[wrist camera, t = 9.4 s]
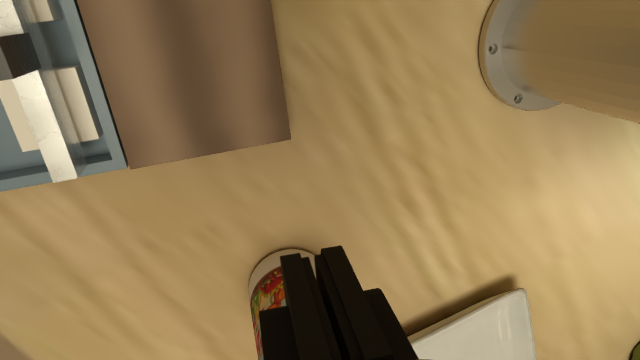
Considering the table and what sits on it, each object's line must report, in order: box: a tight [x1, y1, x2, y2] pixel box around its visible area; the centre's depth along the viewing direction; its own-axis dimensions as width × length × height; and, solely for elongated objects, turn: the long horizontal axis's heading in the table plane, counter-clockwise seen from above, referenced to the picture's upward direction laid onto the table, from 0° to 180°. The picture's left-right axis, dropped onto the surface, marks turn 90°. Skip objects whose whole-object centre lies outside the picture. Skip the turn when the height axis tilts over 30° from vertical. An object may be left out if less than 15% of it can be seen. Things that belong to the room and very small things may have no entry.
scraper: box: [0, 0, 87, 183], centre depth 24 cm, size 2×16×7 cm, turn 6°
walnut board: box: [77, 0, 291, 169], centre depth 30 cm, size 12×18×3 cm, turn 6°
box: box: [0, 0, 129, 192], centre depth 28 cm, size 11×18×2 cm, turn 6°
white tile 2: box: [0, 64, 103, 152], centre depth 30 cm, size 5×5×2 cm
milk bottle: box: [249, 249, 316, 360], centre depth 33 cm, size 8×8×20 cm
